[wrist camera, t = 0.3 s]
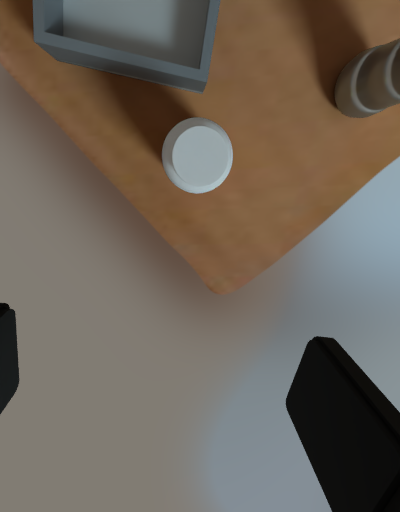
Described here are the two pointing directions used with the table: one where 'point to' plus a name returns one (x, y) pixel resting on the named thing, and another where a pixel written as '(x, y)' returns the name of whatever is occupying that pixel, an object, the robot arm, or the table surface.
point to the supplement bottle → (197, 155)
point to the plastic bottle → (370, 81)
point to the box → (132, 37)
